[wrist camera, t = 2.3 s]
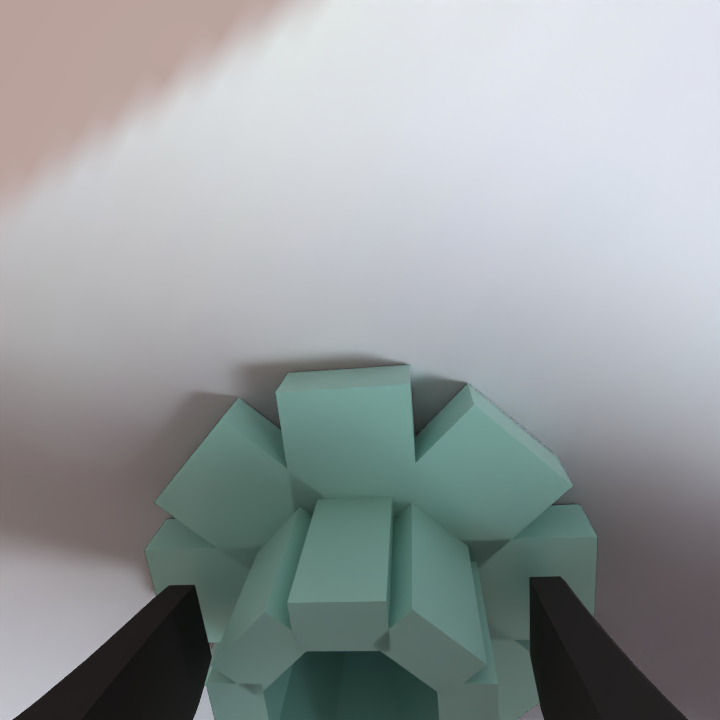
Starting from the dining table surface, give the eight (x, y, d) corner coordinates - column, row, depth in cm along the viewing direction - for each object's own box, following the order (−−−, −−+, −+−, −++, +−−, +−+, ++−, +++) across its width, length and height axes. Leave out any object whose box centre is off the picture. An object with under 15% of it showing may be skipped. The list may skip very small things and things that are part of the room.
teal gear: (584, 353, 11) (680, 445, 7) (574, 711, 14) (638, 916, 10) (133, 382, 12) (3, 477, 8) (212, 709, 15) (144, 892, 11)
